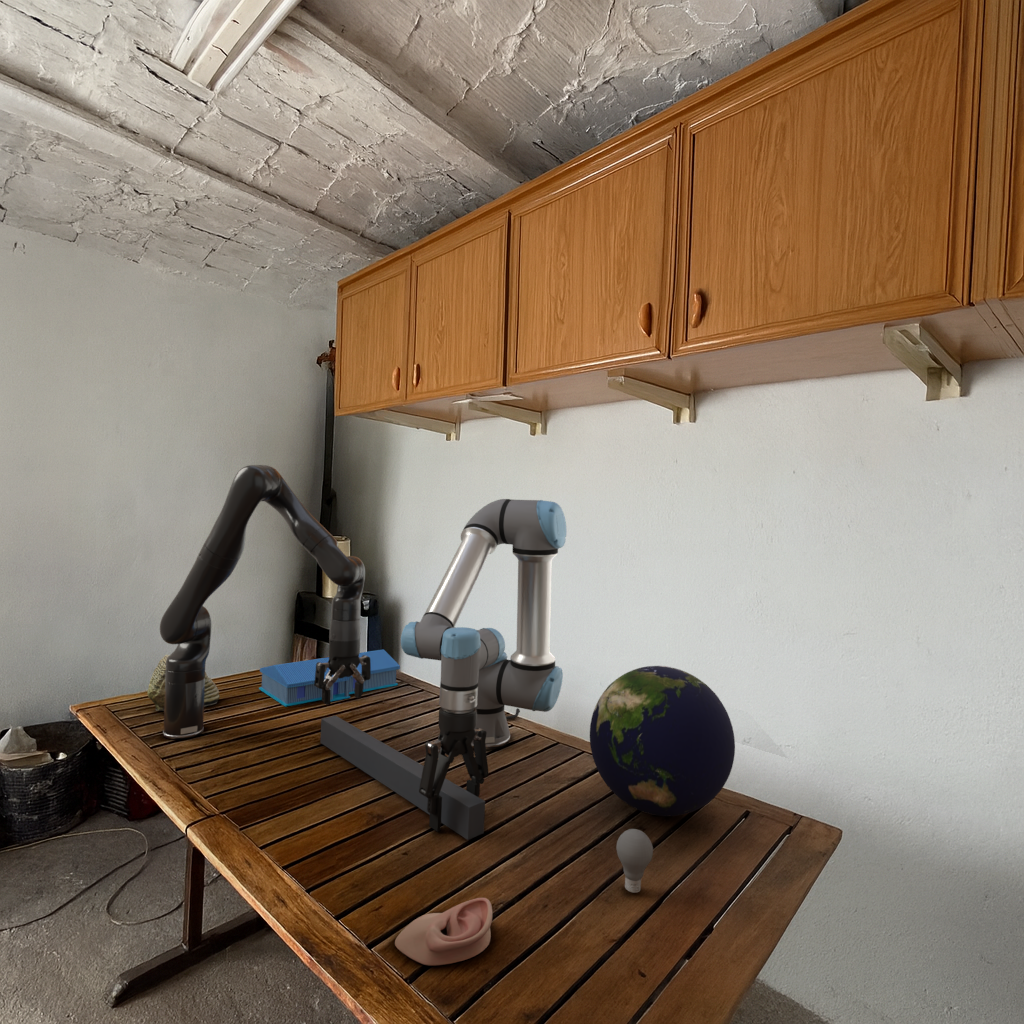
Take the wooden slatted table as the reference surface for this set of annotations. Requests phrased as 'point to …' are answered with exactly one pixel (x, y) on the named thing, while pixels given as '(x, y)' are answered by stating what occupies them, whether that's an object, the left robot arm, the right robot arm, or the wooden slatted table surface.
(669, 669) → the globe
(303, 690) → the model building
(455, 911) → the anatomical model
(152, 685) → the fossil
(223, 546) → the left robot arm
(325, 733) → the beam
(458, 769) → the wooden slatted table surface
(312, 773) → the wooden slatted table surface
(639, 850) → the light bulb
